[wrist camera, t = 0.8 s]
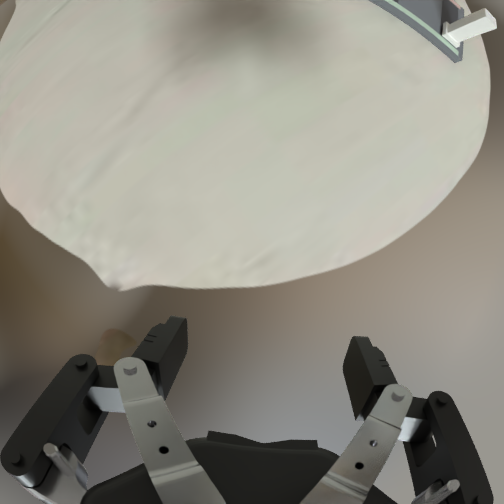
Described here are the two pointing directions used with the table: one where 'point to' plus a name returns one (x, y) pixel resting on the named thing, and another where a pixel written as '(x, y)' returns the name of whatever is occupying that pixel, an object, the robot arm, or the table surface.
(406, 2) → the board
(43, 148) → the table surface
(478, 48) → the table surface
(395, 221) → the table surface
